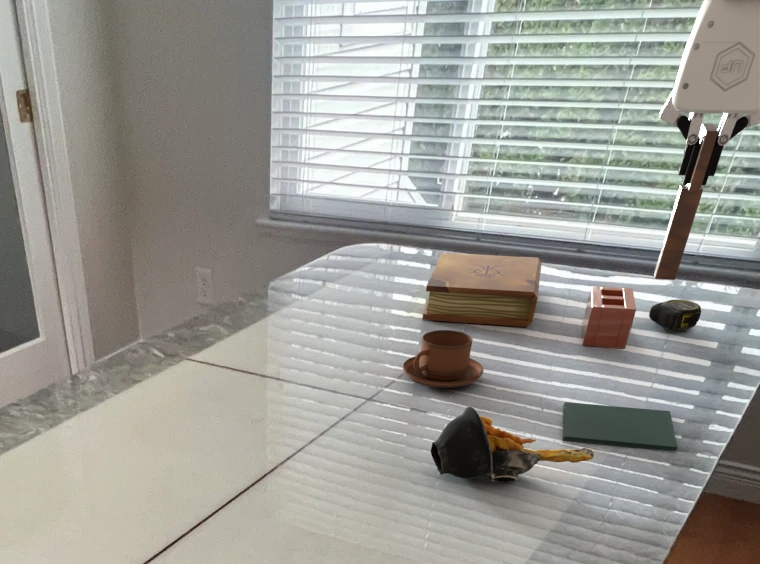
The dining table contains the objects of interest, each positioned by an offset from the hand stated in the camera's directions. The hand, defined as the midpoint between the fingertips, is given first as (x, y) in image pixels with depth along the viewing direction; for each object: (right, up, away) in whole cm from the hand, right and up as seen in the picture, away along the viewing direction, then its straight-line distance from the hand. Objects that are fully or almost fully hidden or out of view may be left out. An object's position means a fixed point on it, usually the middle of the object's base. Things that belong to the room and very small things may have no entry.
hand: (693, 182), depth 102 cm
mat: (-3, -25, +13) cm, 29 cm away
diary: (-9, +12, +54) cm, 56 cm away
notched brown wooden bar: (0, -8, +7) cm, 11 cm away
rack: (+7, 0, +40) cm, 41 cm away
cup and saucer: (-23, -13, +28) cm, 38 cm away
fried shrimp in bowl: (-22, -35, +3) cm, 42 cm away
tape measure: (+20, +2, +42) cm, 46 cm away
